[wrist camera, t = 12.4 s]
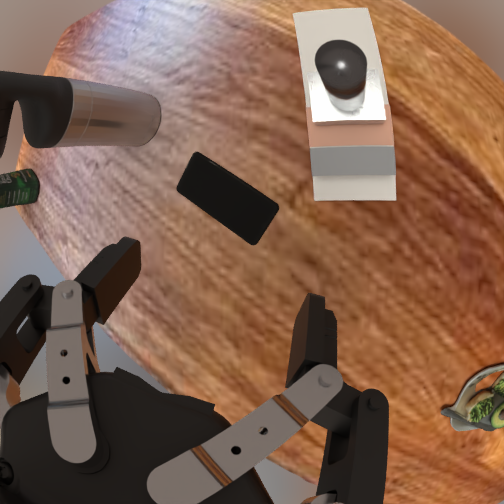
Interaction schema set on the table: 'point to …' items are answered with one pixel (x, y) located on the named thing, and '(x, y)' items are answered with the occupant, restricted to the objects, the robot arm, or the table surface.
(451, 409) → the salad plate
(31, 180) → the coffee jar
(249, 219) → the smartphone
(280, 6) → the table surface
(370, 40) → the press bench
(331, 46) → the press jaw
